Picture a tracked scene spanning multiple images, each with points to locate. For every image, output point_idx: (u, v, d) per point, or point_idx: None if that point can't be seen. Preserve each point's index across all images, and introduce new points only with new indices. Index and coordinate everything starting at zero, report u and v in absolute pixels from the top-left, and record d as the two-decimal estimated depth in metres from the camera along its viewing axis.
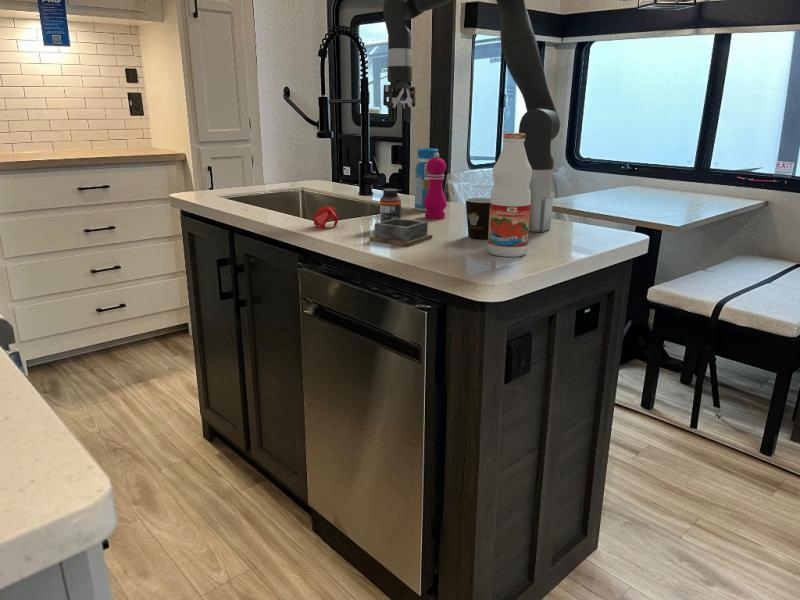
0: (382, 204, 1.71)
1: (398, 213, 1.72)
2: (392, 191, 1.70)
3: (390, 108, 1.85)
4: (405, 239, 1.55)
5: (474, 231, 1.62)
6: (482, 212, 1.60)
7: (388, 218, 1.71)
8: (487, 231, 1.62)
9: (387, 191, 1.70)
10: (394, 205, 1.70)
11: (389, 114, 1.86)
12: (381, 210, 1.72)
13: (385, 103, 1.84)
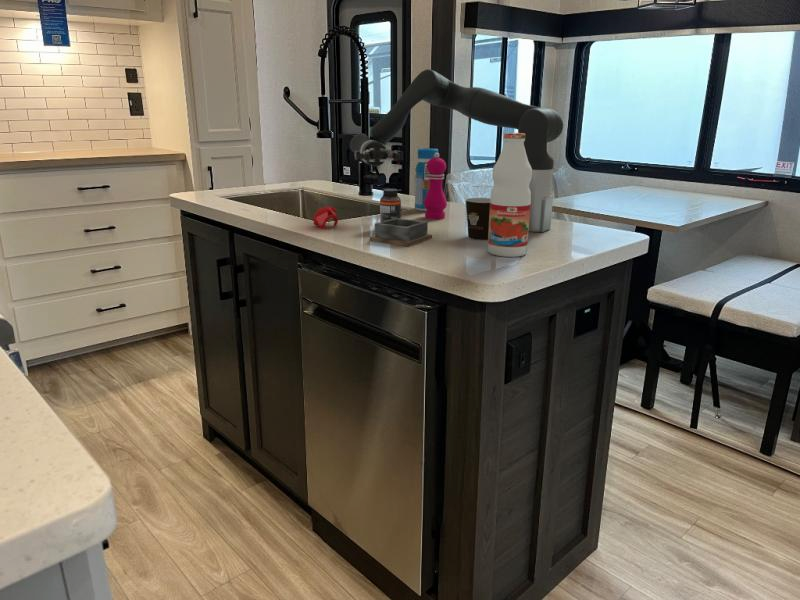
0: (382, 204, 1.71)
1: (398, 213, 1.72)
2: (392, 191, 1.70)
3: (362, 155, 1.82)
4: (405, 239, 1.55)
5: (474, 231, 1.62)
6: (482, 212, 1.60)
7: (388, 218, 1.71)
8: (487, 231, 1.62)
9: (387, 191, 1.70)
10: (394, 205, 1.70)
11: (364, 157, 1.80)
12: (381, 210, 1.72)
13: (356, 157, 1.83)
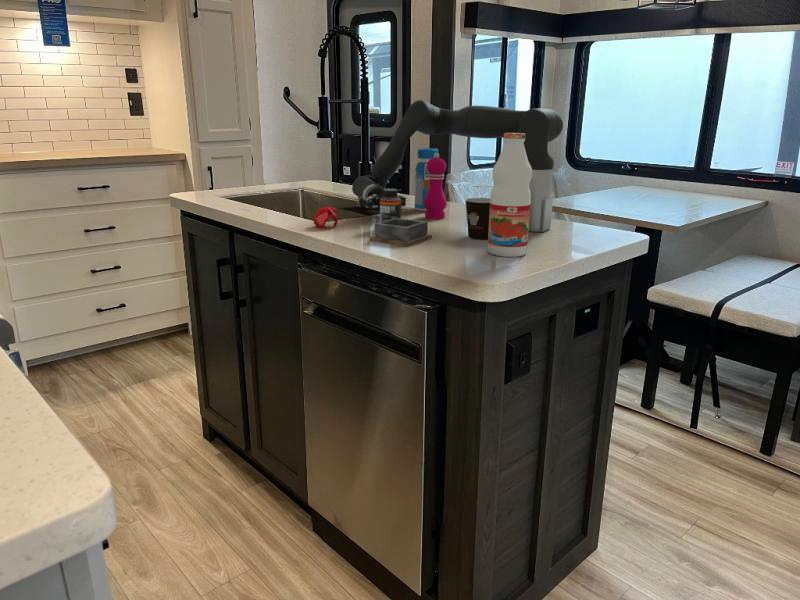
0: (382, 204, 1.71)
1: (398, 213, 1.72)
2: (392, 191, 1.70)
3: (365, 202, 1.82)
4: (405, 239, 1.55)
5: (474, 231, 1.62)
6: (482, 212, 1.60)
7: (388, 218, 1.71)
8: (487, 231, 1.62)
9: (387, 191, 1.70)
10: (393, 205, 1.70)
11: (367, 205, 1.81)
12: (381, 210, 1.72)
13: (359, 204, 1.83)
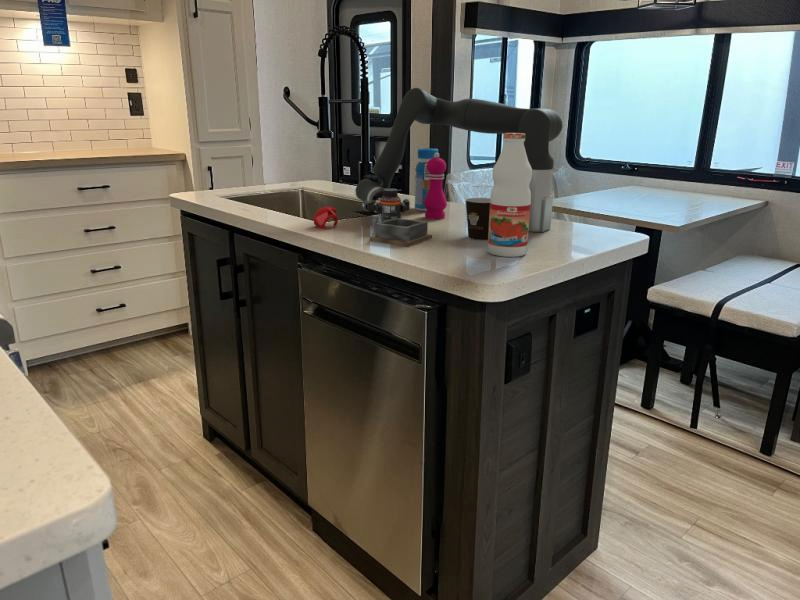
0: (382, 204, 1.71)
1: (398, 213, 1.72)
2: (392, 191, 1.70)
3: (375, 207, 1.73)
4: (405, 239, 1.55)
5: (474, 231, 1.62)
6: (482, 212, 1.60)
7: (388, 218, 1.71)
8: (487, 231, 1.62)
9: (387, 191, 1.70)
10: (394, 205, 1.70)
11: (375, 209, 1.72)
12: None
13: (367, 208, 1.74)
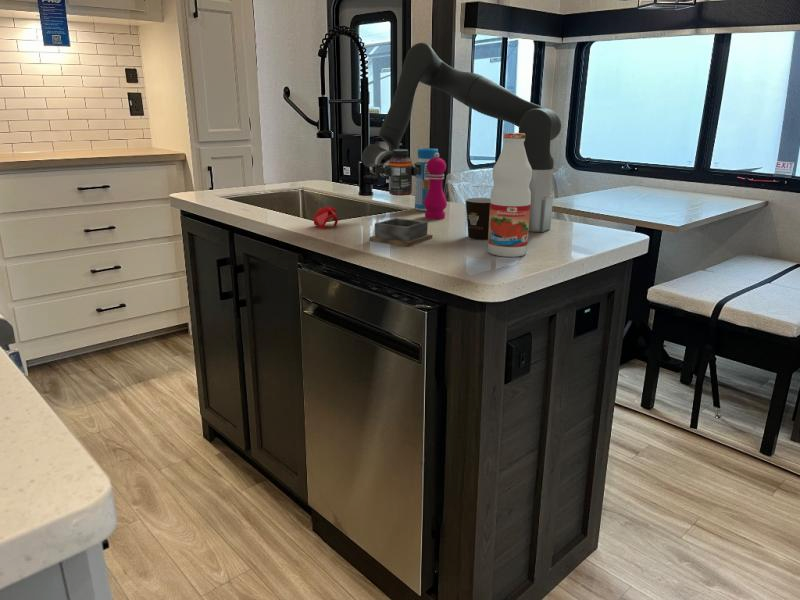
0: (391, 166, 1.56)
1: (409, 176, 1.57)
2: (402, 151, 1.55)
3: (383, 169, 1.58)
4: (405, 239, 1.55)
5: (474, 231, 1.62)
6: (482, 212, 1.60)
7: (398, 181, 1.56)
8: (487, 231, 1.62)
9: (397, 151, 1.55)
10: (404, 167, 1.55)
11: (384, 172, 1.57)
12: None
13: (375, 171, 1.59)
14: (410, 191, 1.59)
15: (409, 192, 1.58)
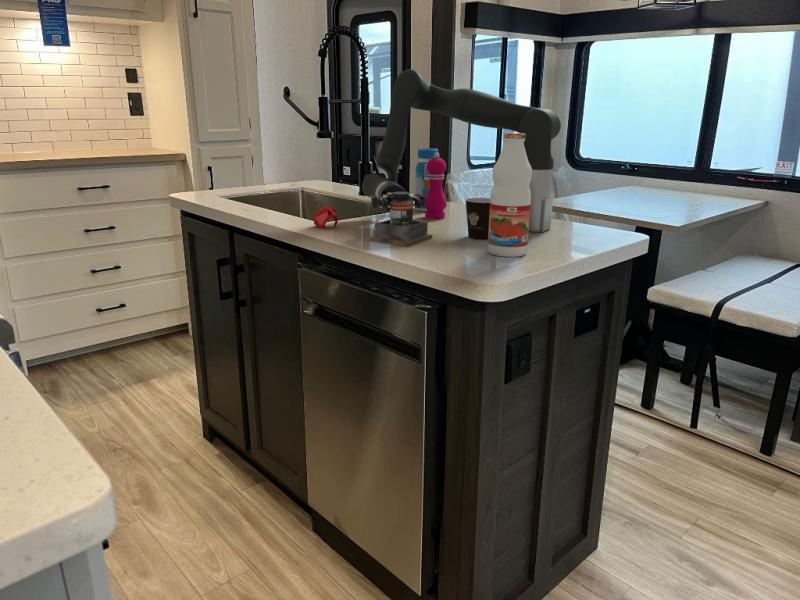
0: (392, 208, 1.58)
1: (410, 218, 1.58)
2: (403, 194, 1.56)
3: (380, 202, 1.59)
4: (405, 239, 1.55)
5: (474, 231, 1.62)
6: (482, 212, 1.60)
7: (399, 224, 1.58)
8: (487, 231, 1.62)
9: (397, 194, 1.57)
10: (405, 210, 1.57)
11: (381, 204, 1.58)
12: (391, 215, 1.59)
13: (372, 203, 1.61)
14: None
15: None
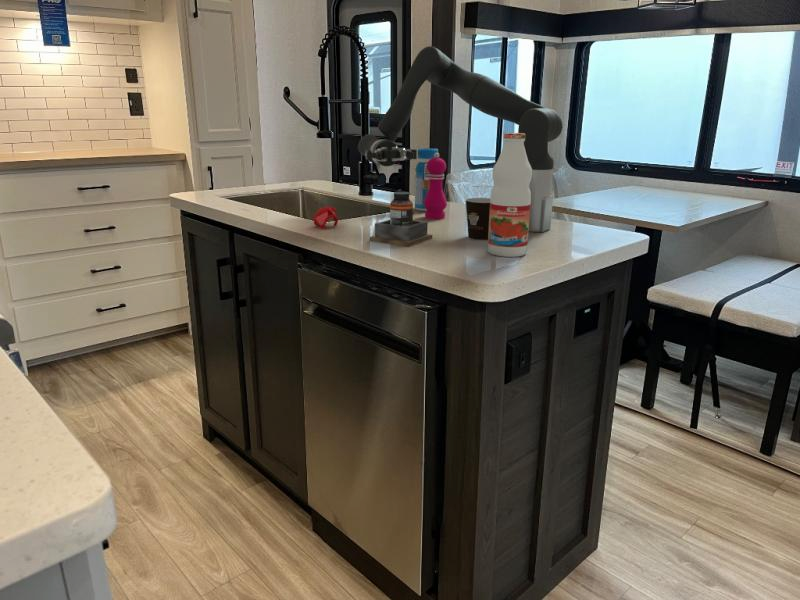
0: (392, 208, 1.58)
1: (410, 218, 1.58)
2: (403, 194, 1.57)
3: (374, 154, 1.71)
4: (405, 239, 1.55)
5: (474, 231, 1.62)
6: (482, 212, 1.60)
7: (399, 224, 1.58)
8: (487, 231, 1.62)
9: (398, 194, 1.57)
10: (405, 210, 1.57)
11: (375, 156, 1.69)
12: (391, 215, 1.59)
13: (367, 156, 1.72)
14: None
15: None
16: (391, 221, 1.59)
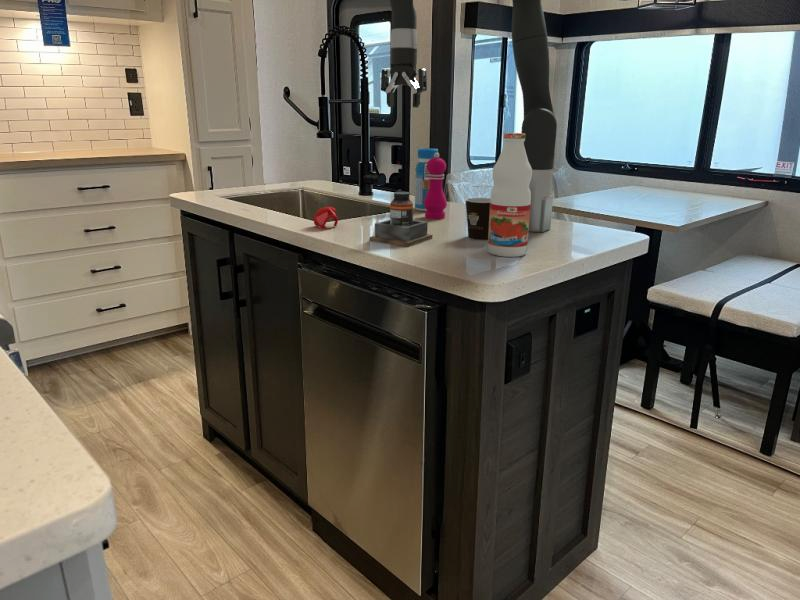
0: (393, 208, 1.58)
1: (410, 218, 1.58)
2: (403, 194, 1.57)
3: None
4: (405, 239, 1.55)
5: (474, 231, 1.62)
6: (482, 212, 1.60)
7: (399, 224, 1.58)
8: (487, 231, 1.62)
9: (398, 194, 1.57)
10: (405, 210, 1.57)
11: None
12: (391, 215, 1.59)
13: None
14: None
15: None
16: (391, 221, 1.59)
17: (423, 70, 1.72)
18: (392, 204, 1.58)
